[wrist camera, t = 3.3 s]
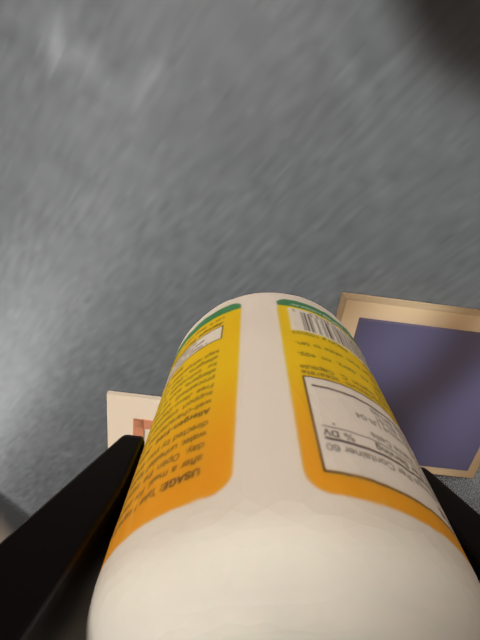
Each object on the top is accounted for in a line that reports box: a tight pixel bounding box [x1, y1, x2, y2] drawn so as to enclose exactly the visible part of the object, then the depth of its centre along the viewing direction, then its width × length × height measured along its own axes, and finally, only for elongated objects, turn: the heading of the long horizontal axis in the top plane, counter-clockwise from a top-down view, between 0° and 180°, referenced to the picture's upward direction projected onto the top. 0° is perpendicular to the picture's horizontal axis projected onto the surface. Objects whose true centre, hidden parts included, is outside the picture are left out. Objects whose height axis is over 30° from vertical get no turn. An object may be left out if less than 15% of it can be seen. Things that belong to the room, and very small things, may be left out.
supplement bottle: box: [85, 293, 480, 640], centre depth 7 cm, size 5×5×10 cm
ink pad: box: [336, 292, 480, 478], centre depth 20 cm, size 10×10×1 cm
